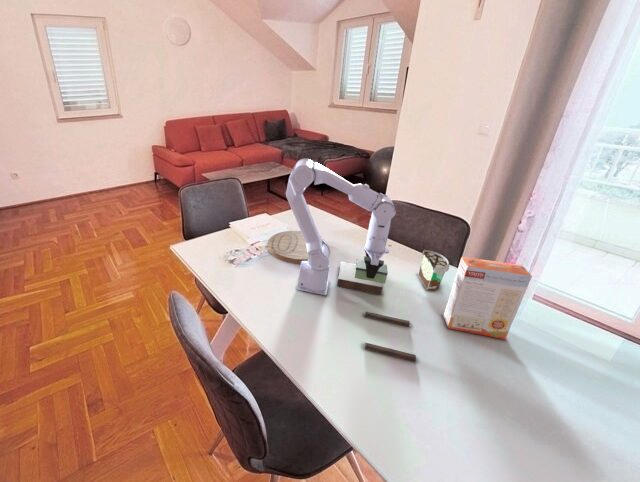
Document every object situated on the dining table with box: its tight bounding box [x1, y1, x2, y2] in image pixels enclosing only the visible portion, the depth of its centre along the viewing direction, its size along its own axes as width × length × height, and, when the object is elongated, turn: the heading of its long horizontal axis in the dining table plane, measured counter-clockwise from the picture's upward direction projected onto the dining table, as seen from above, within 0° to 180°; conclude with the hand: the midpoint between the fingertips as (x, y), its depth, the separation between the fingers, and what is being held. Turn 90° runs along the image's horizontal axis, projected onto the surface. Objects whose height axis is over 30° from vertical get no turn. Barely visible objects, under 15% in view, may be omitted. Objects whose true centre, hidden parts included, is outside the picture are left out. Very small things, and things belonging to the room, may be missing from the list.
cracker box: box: [443, 256, 533, 340], centre depth 86 cm, size 14×6×21 cm, turn 71°
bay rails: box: [364, 311, 417, 362], centre depth 87 cm, size 12×14×1 cm
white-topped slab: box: [337, 260, 383, 295], centre depth 110 cm, size 14×12×3 cm
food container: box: [417, 249, 450, 291], centre depth 107 cm, size 12×6×10 cm, turn 168°
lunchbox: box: [355, 259, 389, 285], centre depth 100 cm, size 9×5×4 cm, turn 69°
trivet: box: [267, 230, 328, 265], centre depth 132 cm, size 25×25×2 cm
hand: (370, 272), depth 100 cm, fingers closed on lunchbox, 5 cm apart
